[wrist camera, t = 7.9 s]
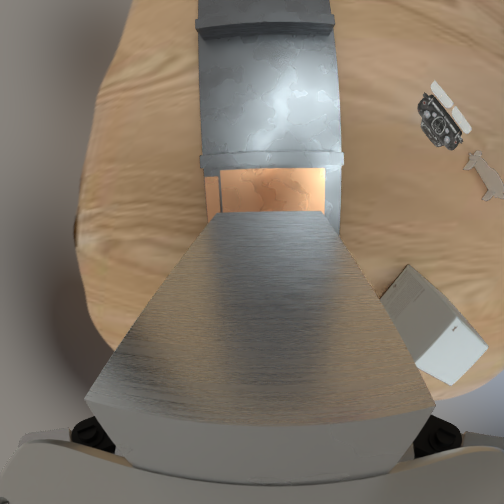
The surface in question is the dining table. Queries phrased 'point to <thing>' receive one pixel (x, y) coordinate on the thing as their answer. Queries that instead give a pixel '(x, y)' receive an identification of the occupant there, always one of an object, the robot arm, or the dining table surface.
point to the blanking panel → (263, 363)
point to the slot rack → (269, 107)
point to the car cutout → (455, 136)
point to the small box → (432, 327)
